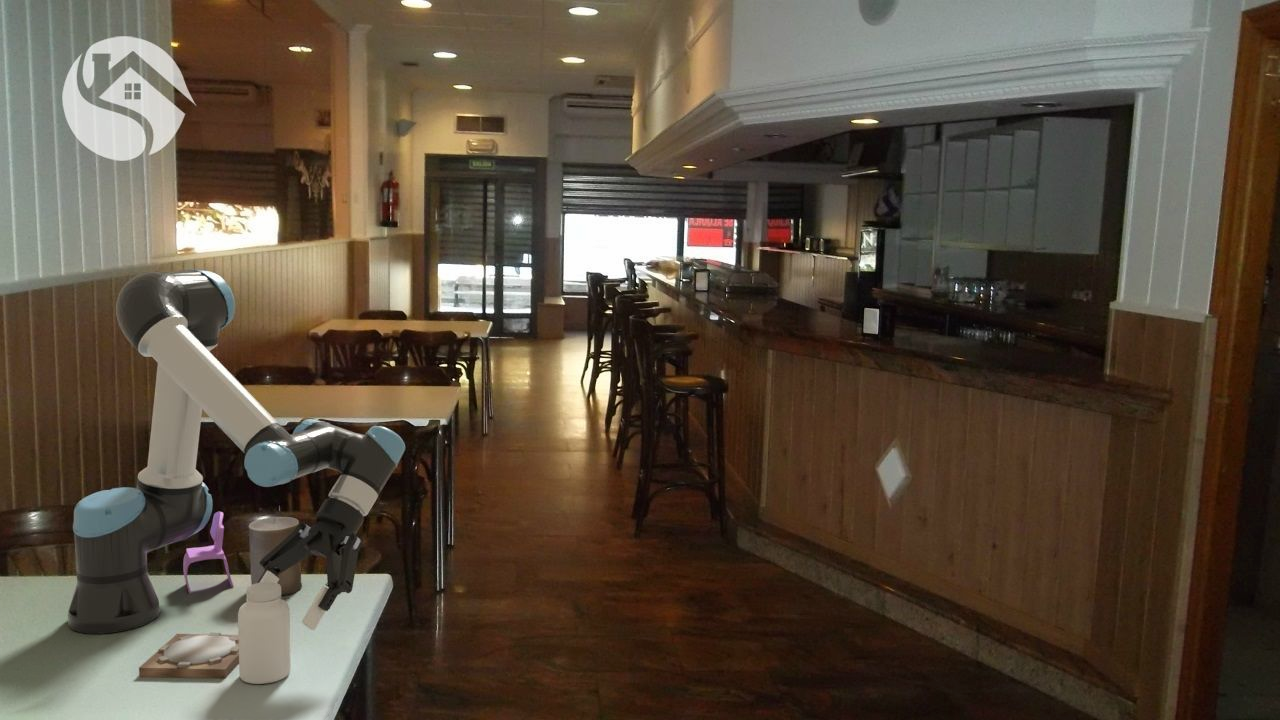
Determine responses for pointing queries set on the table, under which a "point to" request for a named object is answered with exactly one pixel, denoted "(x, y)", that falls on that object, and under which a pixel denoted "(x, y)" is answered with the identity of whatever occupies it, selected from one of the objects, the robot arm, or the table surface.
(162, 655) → the gear board
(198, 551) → the toy chair
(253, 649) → the pill bottle
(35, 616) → the table surface
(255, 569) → the pillar candle
